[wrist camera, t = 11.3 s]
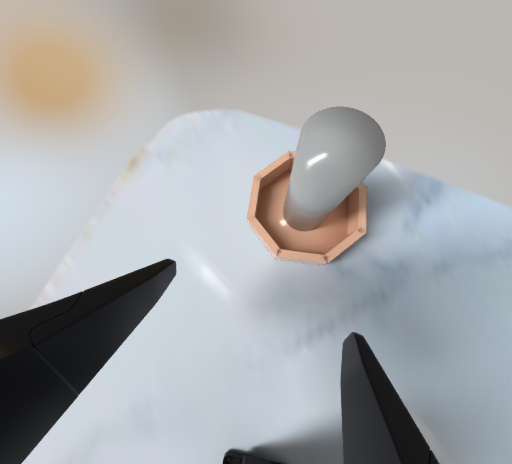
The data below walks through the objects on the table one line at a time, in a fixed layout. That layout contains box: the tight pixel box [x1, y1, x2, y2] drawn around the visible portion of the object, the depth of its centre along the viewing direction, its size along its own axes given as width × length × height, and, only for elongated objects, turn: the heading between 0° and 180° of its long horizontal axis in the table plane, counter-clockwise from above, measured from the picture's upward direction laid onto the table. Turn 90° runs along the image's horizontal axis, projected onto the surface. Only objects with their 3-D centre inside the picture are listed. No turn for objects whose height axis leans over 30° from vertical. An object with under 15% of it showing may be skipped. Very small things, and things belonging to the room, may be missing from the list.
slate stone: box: [283, 107, 386, 231], centre depth 17 cm, size 5×5×12 cm
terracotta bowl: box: [247, 151, 367, 265], centre depth 22 cm, size 13×13×4 cm
